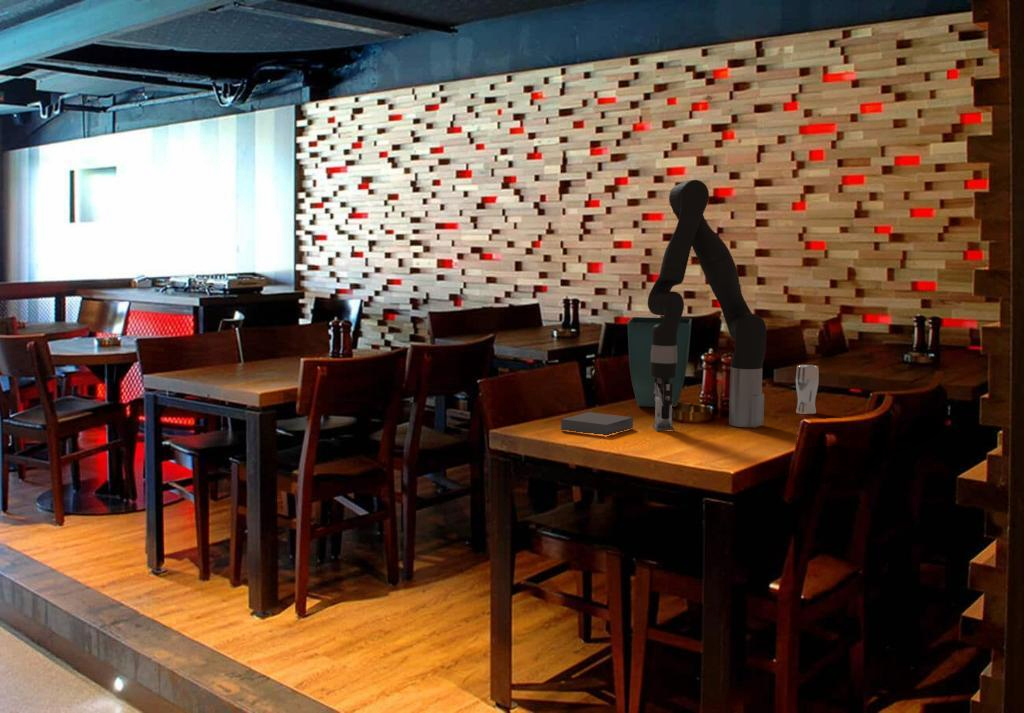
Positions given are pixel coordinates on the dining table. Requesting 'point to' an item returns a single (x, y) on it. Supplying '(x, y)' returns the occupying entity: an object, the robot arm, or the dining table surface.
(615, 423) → the slate block
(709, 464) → the dining table surface
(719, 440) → the dining table surface
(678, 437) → the dining table surface
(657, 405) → the salt shaker
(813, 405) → the beer glass
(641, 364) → the flower pot
